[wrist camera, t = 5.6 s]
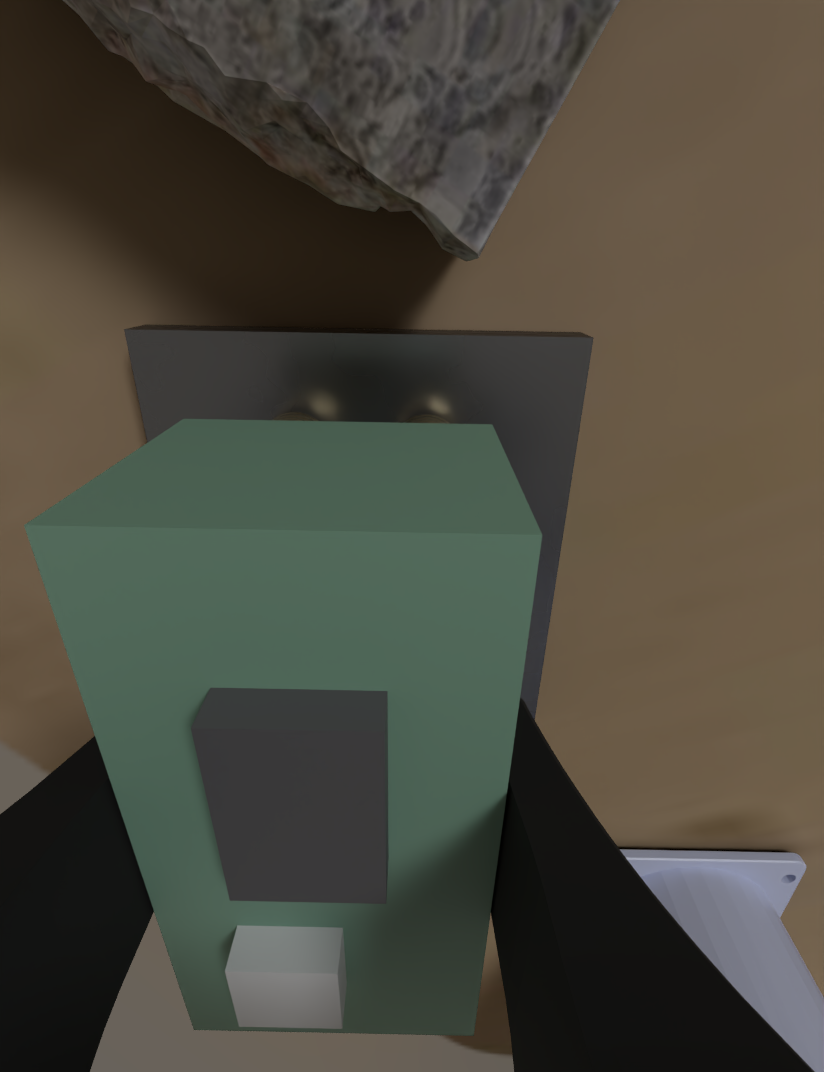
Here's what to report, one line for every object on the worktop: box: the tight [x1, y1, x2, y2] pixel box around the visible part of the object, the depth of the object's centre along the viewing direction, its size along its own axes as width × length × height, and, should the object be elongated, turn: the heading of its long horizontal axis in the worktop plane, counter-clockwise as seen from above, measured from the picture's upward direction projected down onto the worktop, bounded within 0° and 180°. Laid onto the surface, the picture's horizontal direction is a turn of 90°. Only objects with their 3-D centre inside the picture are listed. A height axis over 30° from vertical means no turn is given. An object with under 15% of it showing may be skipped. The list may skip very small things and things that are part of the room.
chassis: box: [124, 325, 593, 720], centre depth 13 cm, size 12×10×4 cm
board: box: [24, 419, 542, 1036], centre depth 9 cm, size 10×5×5 cm, turn 179°
